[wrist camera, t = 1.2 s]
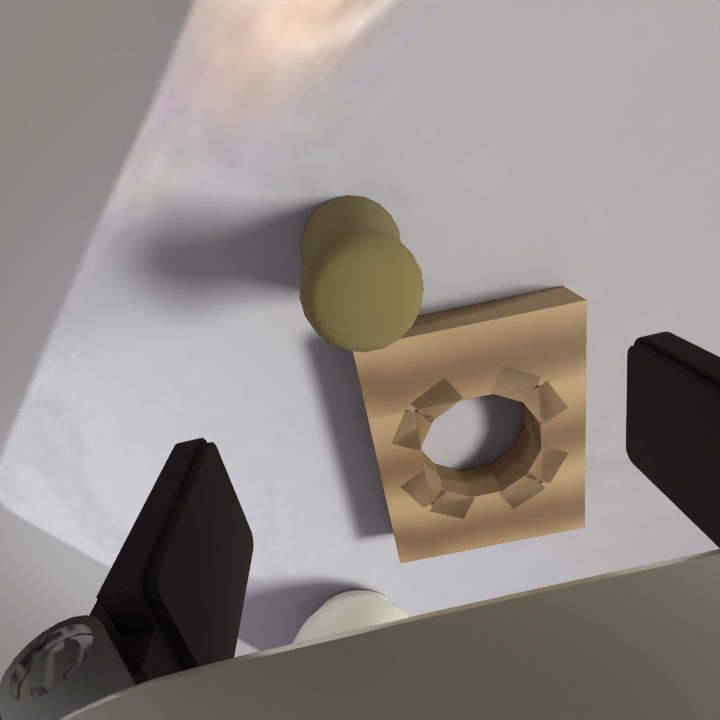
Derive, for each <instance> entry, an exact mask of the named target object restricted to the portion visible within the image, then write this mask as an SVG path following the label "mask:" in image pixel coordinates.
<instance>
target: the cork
mask: <svg viewBox="0 0 720 720" xmlns="http://www.w3.org/2000/svg"><path fill="white" fill-rule="evenodd" d="M301 253H302V256H303V260H304V264H305V268H304V270H303V273H302V276H301V284H300V300H301V304H302V307H303V311H304V315H305V317H306V318H307V320H308V321H309V323H310V324H311V326H312V327H313V329H314V330H315V331H316V333H317V334H318V335H320V336H321V337H322V338H323V339H325V340H326V341H327V342H328V343H330V344H331V345H333V346H336V347H339V348H341V349H344V350H346V351H354V352H369V351H374V350H379V349H383V348H385V347H387V346H389V345H390V344H392V343H394V342H396V341H398V340H399V339H400V338H401V337H402V336H403V335H404V334H405V333H406V332H407V331H408V330H409V329H410V328H411V327H412V325H413V323H414V321H415V320H416V318H417V316H418V314H419V312H420V308H421V302H422V296H423V290H424V288H423V281H422V275H421V270H420V268H419V266H418V264H417V262H416V260H415V258H414V256H413V255H412V253H411V252H410V251H409V250H408V249H407V248H406V247H405V246H404V245H403V244H402V243H401V242H400V236H399V230H398V228H397V226H396V224H395V222H394V220H393V218H392V216H391V215H390V214H389V213H388V212H387V211H386V210H385V209H384V208H383V207H382V206H381V205H380V204H378V203H376V202H374V201H372V200H370V199H368V198H366V197H359V196H350V195H347V196H343V197H339V198H334V199H331V200H330V201H328V202H327V203H325V204H323V205H322V206H320V207H318V209H317V210H316V211H315V212H314V213H313V215H312V216H311V217H310V218H309V219H308V221H307V224H306V226H305V229H304V231H303V234H302V245H301Z"/></svg>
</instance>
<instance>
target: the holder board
mask: <svg viewBox="0 0 720 720" xmlns="http://www.w3.org/2000/svg"><path fill="white" fill-rule="evenodd" d="M586 319H587V300H586V299H584V298H582V297H581V296H579V295H577V294H575V293H574V292H572V291H570V290H569V289H567V288H565V287H564V286H562V287H557V288H552V289H547V290H543V291H538V292H533V293H528V294H523V295H519V296H514V297H509V298H504V299H500V300H495V301H490V302H485V303H480V304H476V305H471V306H466V307H461V308H457V309H452V310H447V311H442V312H437V313H433V314H428V315H423V316H418V317H417V318H416V320H415V321H414V323H413V325H412V327H411V328H410V329H409V330H408V331H407V332H406V333H405V334H404V335H403V336H402V337H401V338H400V339H399V340H398V341H396V342H394V343H392V344H390V345H389V346H387V347H385V348H383V349H379V350H374V351H369V352H354V351H353V354H354V359H355V363H356V368H357V372H358V377H359V381H360V386H361V390H362V395H363V399H364V403H365V408H366V412H367V417H368V421H369V426H370V430H371V435H372V439H373V444H374V448H375V452H376V457H377V461H378V466H379V470H380V475H381V479H382V484H383V488H384V493H385V497H386V501H387V506H388V510H389V515H390V519H391V524H392V528H393V533H394V537H395V542H396V546H397V550H398V555H399V559H400V563H405V562H410V561H415V560H420V559H425V558H430V557H435V556H440V555H446V554H451V553H456V552H461V551H466V550H471V549H476V548H481V547H486V546H491V545H496V544H501V543H507V542H512V541H517V540H522V539H527V538H532V537H537V536H542V535H547V534H552V533H557V532H562V531H568V530H573V529H578V528H583V527H585V426H586ZM490 394H495V395H499V396H502V397H506V398H509V399H513V400H516V401H520V402H523V409H524V427H523V429H522V431H521V432H520V434H519V436H518V438H517V440H516V441H515V443H514V445H513V447H512V449H510V450H509V451H507V452H506V453H505V454H503V455H502V456H500V457H499V458H497V459H496V460H495V461H493V462H492V463H490V464H489V465H485V466H480V467H475V468H470V469H465V470H457V469H453V468H449V467H445V466H441V465H437V464H434V463H433V462H432V461H431V460H430V459H429V458H428V457H427V456H426V455H425V454H424V453H423V452H422V451H421V446H422V444H423V441H424V439H425V437H426V435H427V433H428V431H429V429H430V426H431V424H432V422H433V420H435V419H436V418H437V417H439V416H440V415H441V414H443V413H444V412H445V411H447V410H448V409H449V408H451V407H452V406H453V405H455V404H456V403H457V402H459V401H461V400H466V399H470V398H475V397H480V396H485V395H490Z"/></svg>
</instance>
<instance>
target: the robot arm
mask: <svg viewBox="0 0 720 720" xmlns="http://www.w3.org/2000/svg"><path fill="white" fill-rule="evenodd" d="M626 450H627V454H628V456H629V458H630V460H631V462H632V463H633V464H634V465H635V466H636V467H637V468H638V469H639V470H640V471H641V472H642V473H643V474H644V475H645V476H646V477H647V478H648V479H649V480H650V481H651V482H652V483H653V484H654V485H655V486H656V487H658V488H659V489H660V490H661V491H662V492H663V493H664V494H665V495H666V496H667V497H668V498H669V499H670V500H671V501H672V502H673V503H674V504H675V505H676V506H677V507H678V508H679V509H680V510H681V511H682V512H683V513H684V514H685V515H686V516H687V517H688V518H689V519H690V520H691V521H692V522H693V523H694V524H696V525H697V526H698V527H699V528H700V529H701V530H702V531H703V532H704V533H705V534H706V535H707V536H708V537H709V538H710V539H711V540H712V541H713V542H714V543H715V544H716V545H717V546H718V547H719V548H720V357H718V356H716V355H714V354H712V353H710V352H708V351H706V350H704V349H702V348H700V347H698V346H696V345H694V344H692V343H690V342H688V341H686V340H684V339H682V338H680V337H678V336H676V335H674V334H672V333H669V332H661V333H657V334H653V335H648V336H644V337H640V338H638V339H636V341H635V343H634V346H631V347H630V348H629V350H628V355H627V416H626ZM252 553H253V536H252V532H251V530H250V527H249V525H248V522H247V520H246V517H245V515H244V513H243V510H242V508H241V505H240V503H239V500H238V498H237V495H236V493H235V491H234V488H233V486H232V483H231V481H230V478H229V476H228V473H227V471H226V468H225V466H224V464H223V461H222V459H221V456H220V454H219V451H218V449H217V447H216V445H215V444H214V443H213V442H210V443H207V441H206V440H205V439H203V438H199V439H195V440H190V441H186V442H182V443H178V444H176V445H175V446H174V448H173V450H172V452H171V454H170V456H169V458H168V460H167V462H166V463H165V465H164V467H163V469H162V471H161V473H160V475H159V477H158V479H157V481H156V483H155V485H154V487H153V489H152V491H151V492H150V494H149V496H148V498H147V500H146V502H145V504H144V506H143V508H142V510H141V512H140V514H139V516H138V518H137V520H136V521H135V523H134V525H133V527H132V529H131V531H130V533H129V535H128V537H127V539H126V541H125V543H124V545H123V547H122V549H121V550H120V552H119V554H118V556H117V558H116V560H115V562H114V564H113V566H112V568H111V570H110V572H109V574H108V576H107V578H106V579H105V581H104V583H103V585H102V587H101V589H100V591H99V593H98V595H97V599H98V600H97V602H96V604H95V606H94V608H93V610H92V612H91V613H90V615H89V616H88V615H83V616H76V617H72V618H69V619H67V620H64V621H62V622H59V623H57V624H55V625H54V626H52V627H50V628H49V629H47V630H45V631H44V632H42V633H41V634H40V635H39V636H37V637H36V638H35V639H34V640H32V641H31V642H30V643H29V644H27V646H26V647H25V648H24V649H23V650H22V651H21V652H20V653H19V654H18V655H17V656H16V657H15V658H14V660H13V661H12V663H11V664H10V666H9V667H8V668H7V670H6V671H5V673H4V675H3V678H2V680H1V682H0V720H720V549H718V550H713V551H709V552H704V553H699V554H695V555H690V556H685V557H681V558H676V559H672V560H667V561H662V562H658V563H653V564H648V565H644V566H639V567H634V568H630V569H625V570H620V571H616V572H611V573H607V574H602V575H597V576H593V577H588V578H584V579H579V580H575V581H570V582H566V583H561V584H556V585H552V586H547V587H543V588H538V589H534V590H529V591H525V592H520V593H516V594H511V595H507V596H502V597H498V598H493V599H489V600H484V601H480V602H475V603H471V604H466V605H462V606H457V607H453V608H448V609H444V610H439V611H435V612H430V613H426V614H421V615H417V616H413V617H408V618H404V619H399V620H395V621H391V622H386V623H382V624H377V625H373V626H369V627H364V628H360V629H355V630H351V631H347V632H342V633H338V634H333V635H329V636H325V637H320V638H316V639H311V640H307V641H303V642H298V643H294V644H289V645H285V646H281V647H277V648H273V649H268V650H264V651H260V652H256V653H251V654H248V655H243V656H239V657H235V658H234V655H235V648H236V643H237V638H238V632H239V626H240V621H241V615H242V609H243V604H244V598H245V592H246V587H247V581H248V576H249V570H250V564H251V559H252Z"/></svg>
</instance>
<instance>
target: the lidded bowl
mask: <svg viewBox="0 0 720 720" xmlns="http://www.w3.org/2000/svg"><path fill="white" fill-rule="evenodd" d="M408 617H411V616H410V615H409V614H408V613H407V612H406V611H404V610H403V609H402V608H401V607H399V606H398V605H396V604H394V603H393V602H391V601H390V600H389V599H388V598H387V597H386V596H384V595H382V594H380V593H377V592H374V591H370V590H349V591H345V592H342V593H339V594H336V595H334V596H332V597H331V598H329V599H328V600H327V601H325V602H324V603H323V605H322V606H321V607H320V608H319V609H318V610H317V611H316V612H315V613H314V614H312V615H311V616H310V617H309V618H308V620H307V621H306V622H305V623H304V625H303V626H302V627H301V629H300V630H299V632H298V634H297V636H296V638H295V640H294V642H293V644H294V643H298V642H303V641H307V640H311V639H316V638H320V637H325V636H329V635H333V634H338V633H342V632H347V631H351V630H355V629H360V628H364V627H369V626H373V625H377V624H382V623H386V622H391V621H395V620H399V619H404V618H408Z"/></svg>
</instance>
